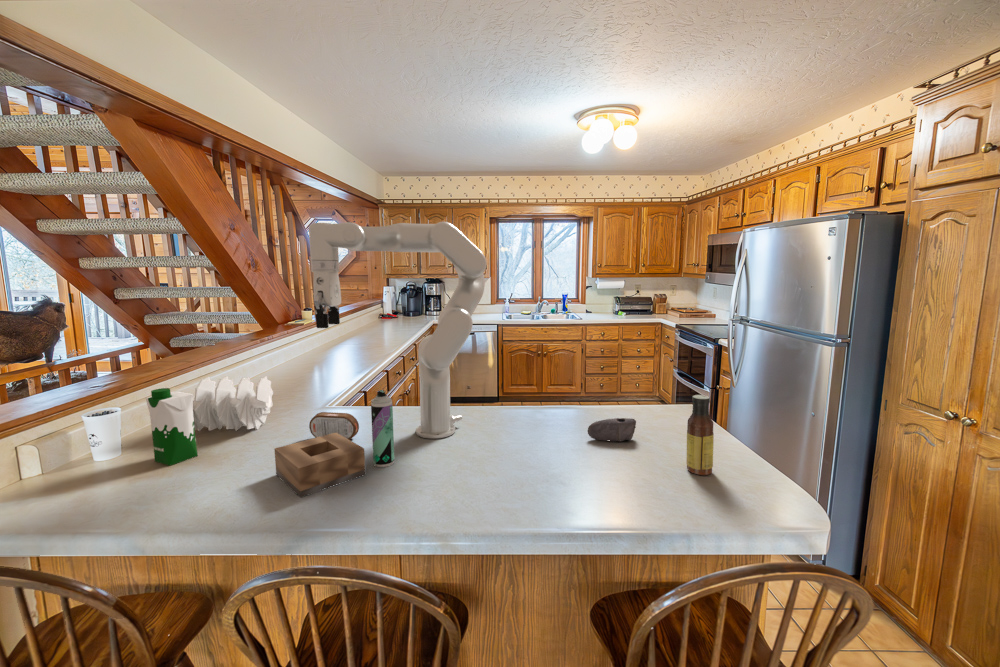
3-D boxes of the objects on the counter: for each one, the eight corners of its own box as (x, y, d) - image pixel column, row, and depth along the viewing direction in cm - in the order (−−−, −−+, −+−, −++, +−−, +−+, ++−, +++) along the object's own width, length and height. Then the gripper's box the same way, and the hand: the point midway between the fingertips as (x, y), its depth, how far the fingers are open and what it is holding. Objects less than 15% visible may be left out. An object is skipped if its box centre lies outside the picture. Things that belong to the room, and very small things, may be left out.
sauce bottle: (710, 467, 114) (715, 394, 111) (714, 478, 108) (719, 401, 106) (683, 464, 116) (688, 392, 114) (685, 474, 110) (690, 398, 108)
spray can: (375, 459, 119) (372, 388, 117) (395, 458, 120) (393, 388, 117) (371, 467, 114) (368, 393, 111) (392, 467, 114) (390, 393, 112)
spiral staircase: (201, 437, 146) (278, 431, 149) (166, 432, 130) (253, 425, 132) (208, 384, 152) (282, 379, 154) (175, 372, 135) (258, 367, 137)
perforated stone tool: (588, 443, 131) (588, 420, 130) (586, 436, 136) (586, 415, 135) (638, 444, 130) (639, 422, 129) (634, 437, 135) (635, 416, 134)
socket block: (337, 456, 121) (336, 432, 120) (365, 474, 110) (364, 448, 109) (276, 474, 110) (274, 448, 109) (300, 497, 99) (298, 468, 98)
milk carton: (149, 462, 117) (140, 390, 115) (184, 450, 126) (178, 382, 123) (167, 468, 114) (160, 394, 111) (203, 455, 122) (197, 386, 119)
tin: (360, 438, 135) (358, 412, 133) (355, 442, 131) (354, 415, 130) (313, 436, 136) (312, 411, 135) (308, 440, 133) (306, 414, 132)
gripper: (328, 266, 117) (331, 329, 119) (347, 267, 134) (350, 322, 136) (299, 266, 116) (303, 329, 119) (322, 267, 133) (326, 322, 136)
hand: (328, 325), depth 127 cm, fingers open, 9 cm apart
